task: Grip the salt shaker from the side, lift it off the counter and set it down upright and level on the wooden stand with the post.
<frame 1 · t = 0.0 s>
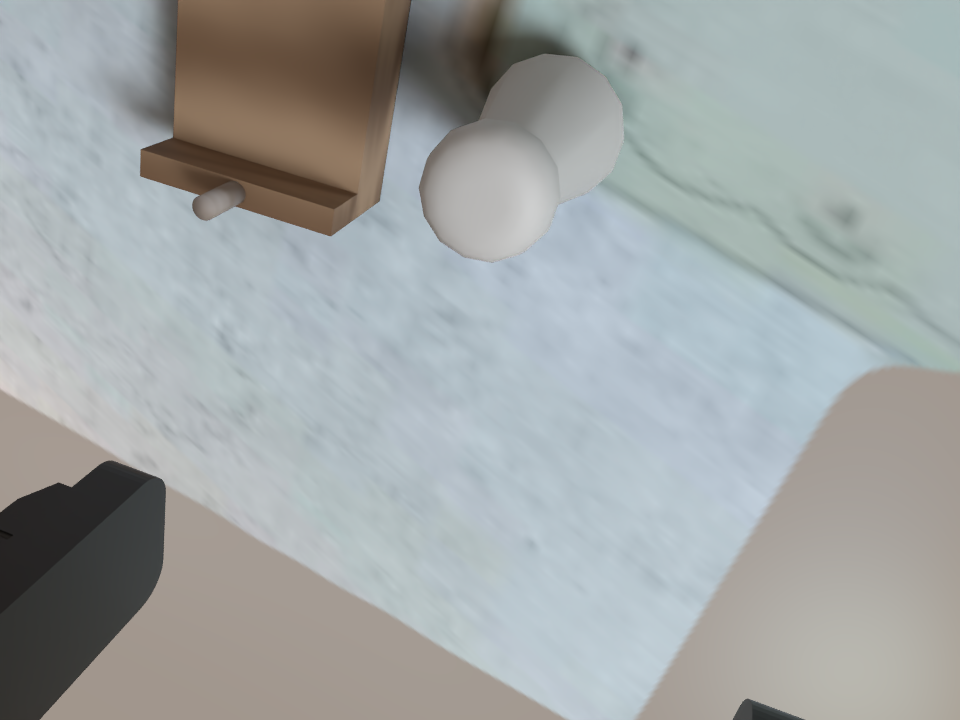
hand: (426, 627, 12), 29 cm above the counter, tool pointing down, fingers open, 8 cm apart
salt shaker: (564, 117, 38), on the counter
wooden stand: (305, 45, 39), on the counter
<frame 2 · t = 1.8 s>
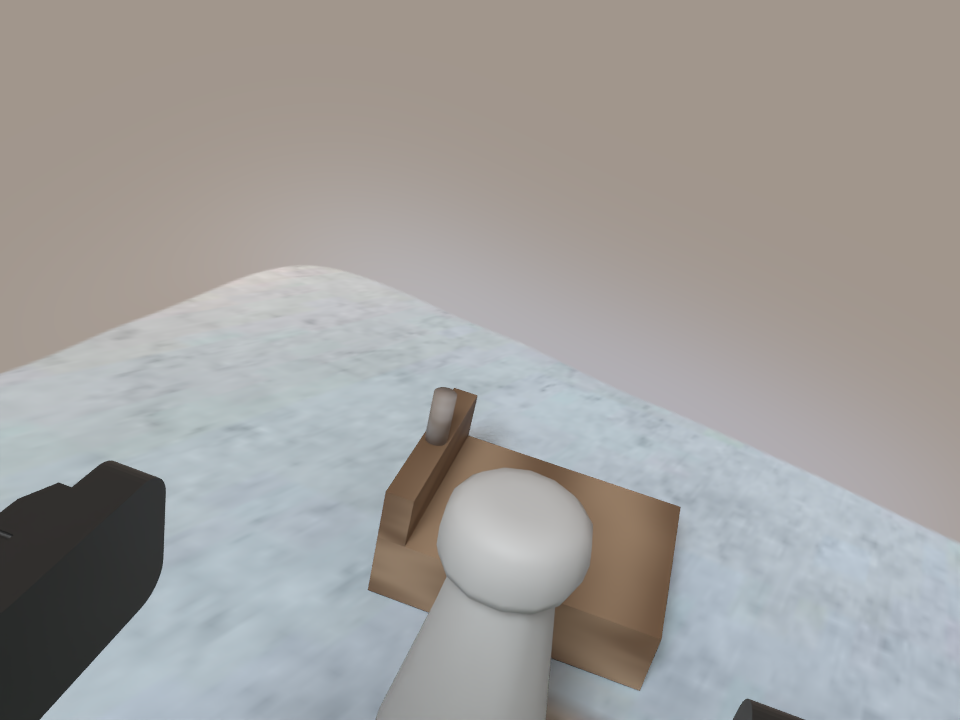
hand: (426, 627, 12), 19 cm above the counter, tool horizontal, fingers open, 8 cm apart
wooden stand: (525, 570, 41), on the counter
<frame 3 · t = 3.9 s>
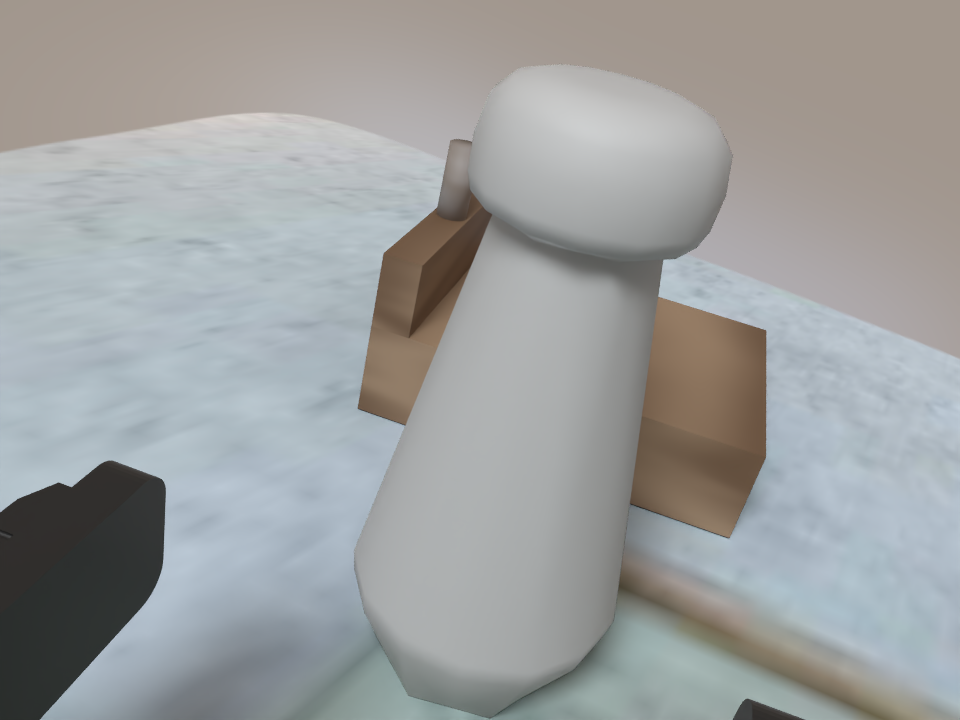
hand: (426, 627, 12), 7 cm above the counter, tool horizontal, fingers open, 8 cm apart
salt shaker: (463, 648, 21), on the counter
wooden stand: (566, 402, 31), on the counter
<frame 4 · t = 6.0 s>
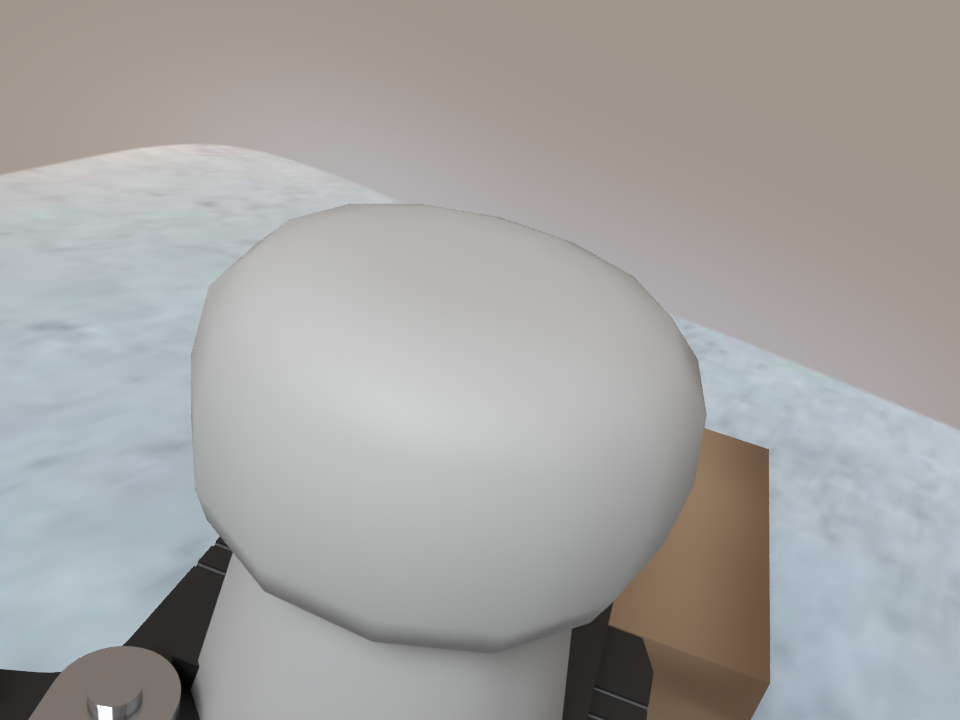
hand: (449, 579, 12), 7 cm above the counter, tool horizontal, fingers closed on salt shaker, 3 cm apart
wooden stand: (507, 552, 24), on the counter
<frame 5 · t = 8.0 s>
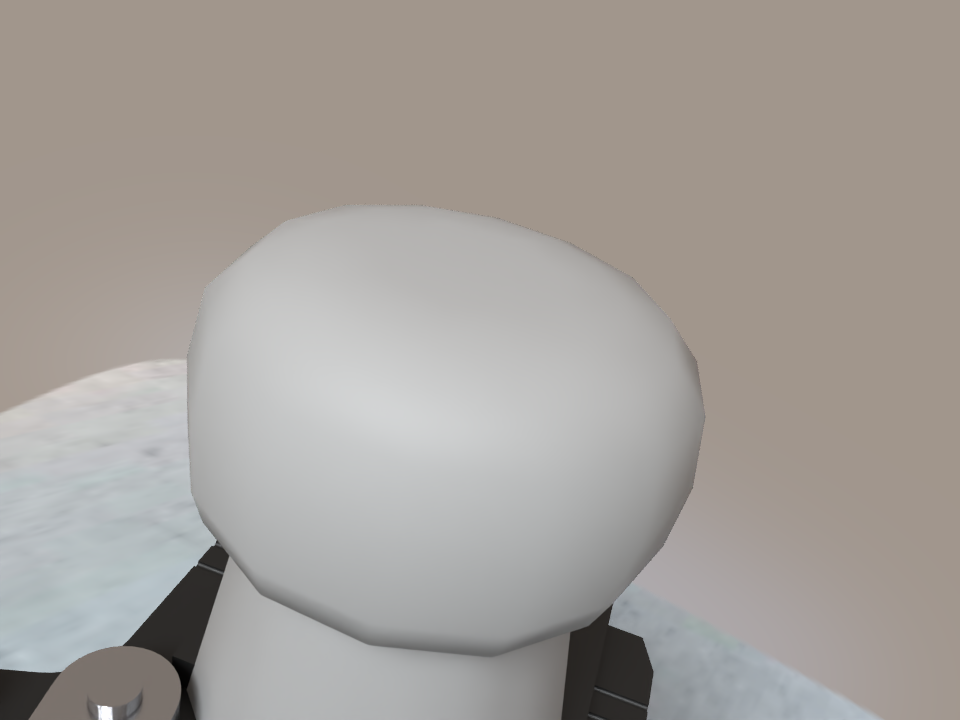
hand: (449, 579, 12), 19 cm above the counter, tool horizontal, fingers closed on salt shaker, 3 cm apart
when the fingers open (11 cm above the counter, at t = 10.1 s): salt shaker drops 1 cm, resting on wooden stand.
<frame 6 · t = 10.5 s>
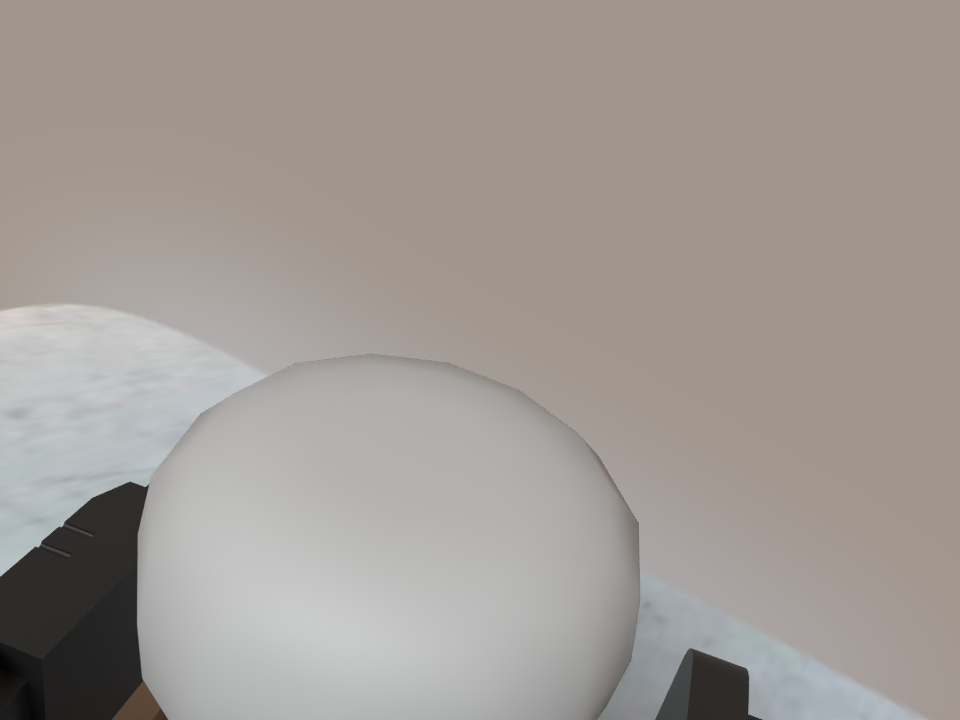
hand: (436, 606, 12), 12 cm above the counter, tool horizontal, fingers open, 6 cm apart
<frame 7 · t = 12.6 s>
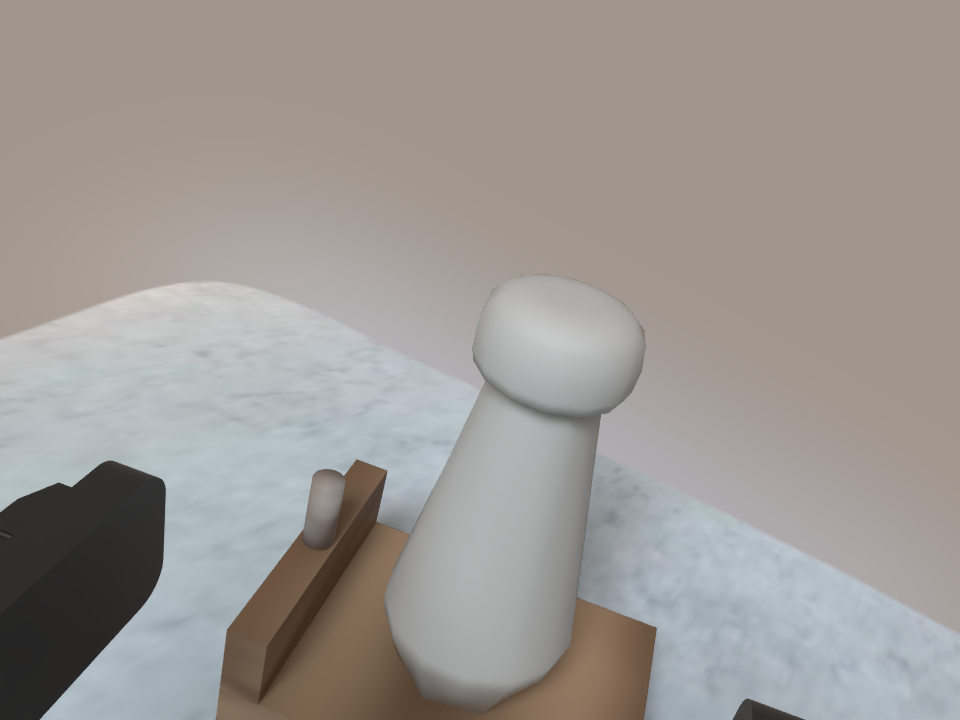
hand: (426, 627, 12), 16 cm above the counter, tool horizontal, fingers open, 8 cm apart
salt shaker: (461, 663, 28), point 3 cm above the counter, touching wooden stand
wooden stand: (443, 716, 30), on the counter
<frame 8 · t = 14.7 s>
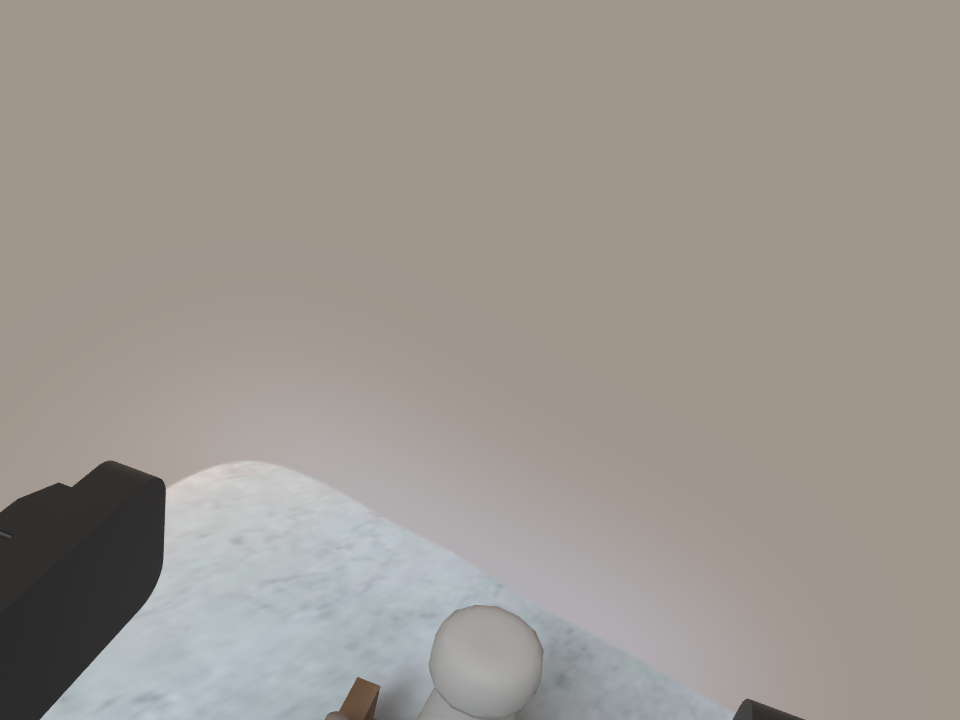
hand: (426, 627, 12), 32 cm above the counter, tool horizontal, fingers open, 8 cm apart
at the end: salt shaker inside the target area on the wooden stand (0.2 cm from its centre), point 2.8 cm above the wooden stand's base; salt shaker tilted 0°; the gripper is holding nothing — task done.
